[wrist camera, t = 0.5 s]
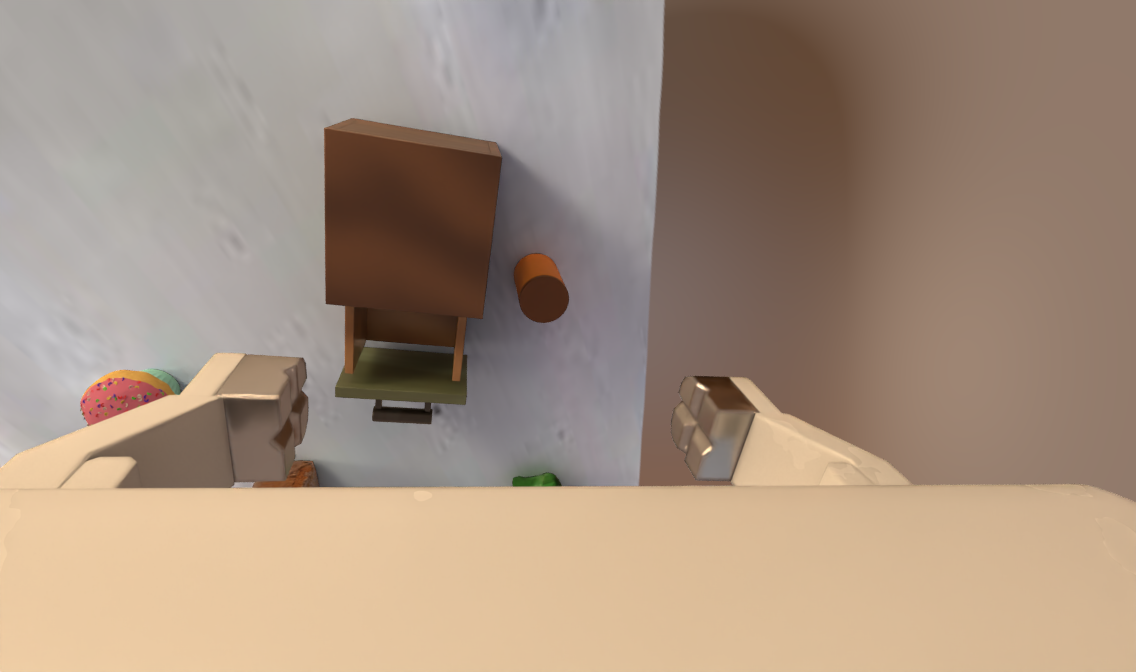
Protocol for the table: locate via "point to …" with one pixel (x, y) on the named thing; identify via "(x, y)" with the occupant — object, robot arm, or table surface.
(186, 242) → the table surface
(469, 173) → the cabinet
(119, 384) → the cupcake
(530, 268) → the cookie roll
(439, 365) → the drawer
